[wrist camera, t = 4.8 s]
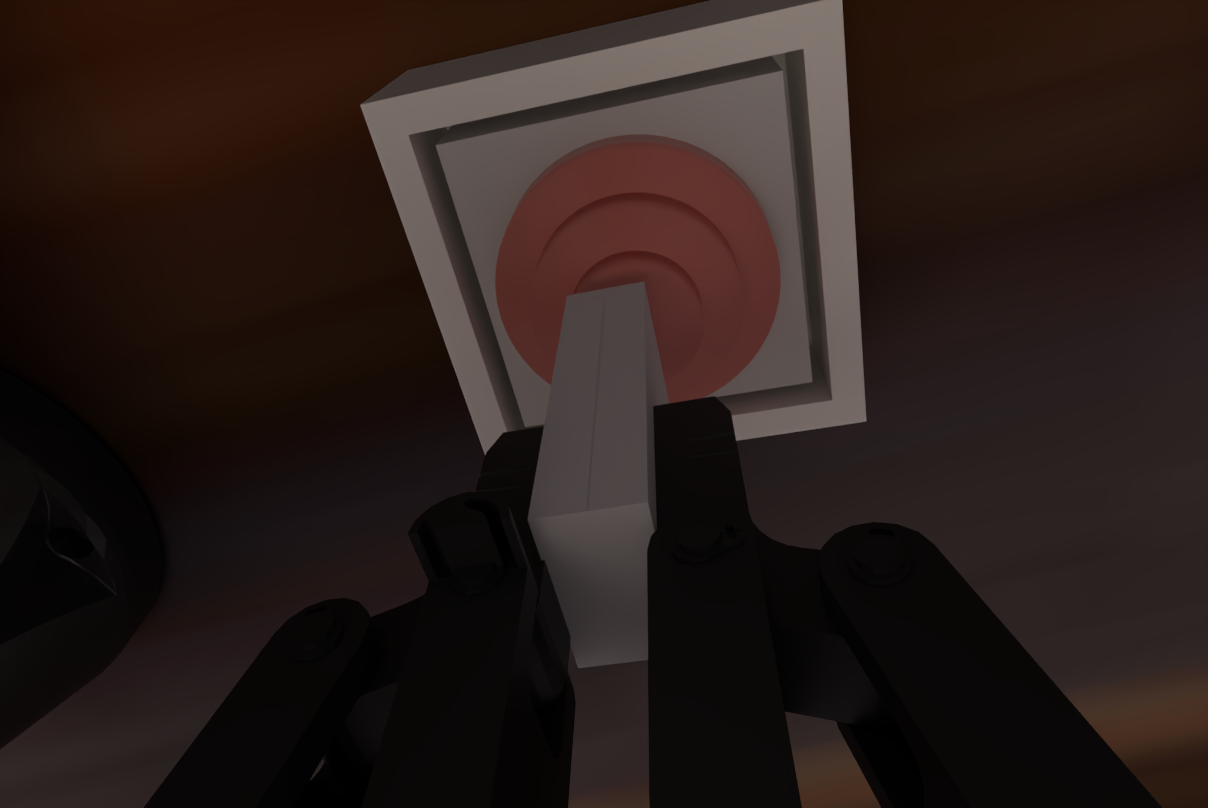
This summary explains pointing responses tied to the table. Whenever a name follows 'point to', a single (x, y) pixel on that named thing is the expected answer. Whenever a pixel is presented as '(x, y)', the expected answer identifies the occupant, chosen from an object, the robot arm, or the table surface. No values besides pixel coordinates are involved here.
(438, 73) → the popper housing
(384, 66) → the table surface
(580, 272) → the dome plunger
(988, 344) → the table surface
